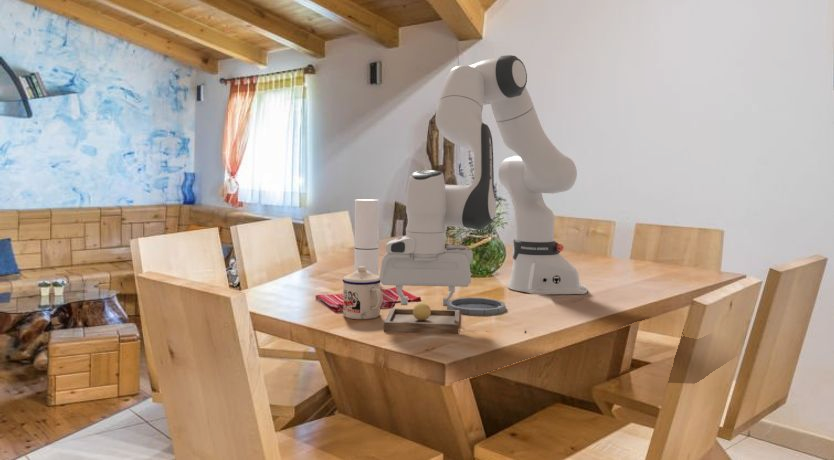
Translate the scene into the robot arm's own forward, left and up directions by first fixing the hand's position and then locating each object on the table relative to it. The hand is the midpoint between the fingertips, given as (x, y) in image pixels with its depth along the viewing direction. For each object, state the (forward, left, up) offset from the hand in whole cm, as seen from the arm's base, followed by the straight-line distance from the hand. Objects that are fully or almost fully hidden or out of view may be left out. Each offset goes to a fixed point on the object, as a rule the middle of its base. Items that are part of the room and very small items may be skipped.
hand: (425, 305), depth 146 cm
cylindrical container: (+20, -47, -5) cm, 51 cm away
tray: (0, 0, -4) cm, 4 cm away
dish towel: (+16, -22, -5) cm, 28 cm away
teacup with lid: (+14, -6, -5) cm, 16 cm away
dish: (-12, -14, -4) cm, 19 cm away
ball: (0, 0, -3) cm, 3 cm away
